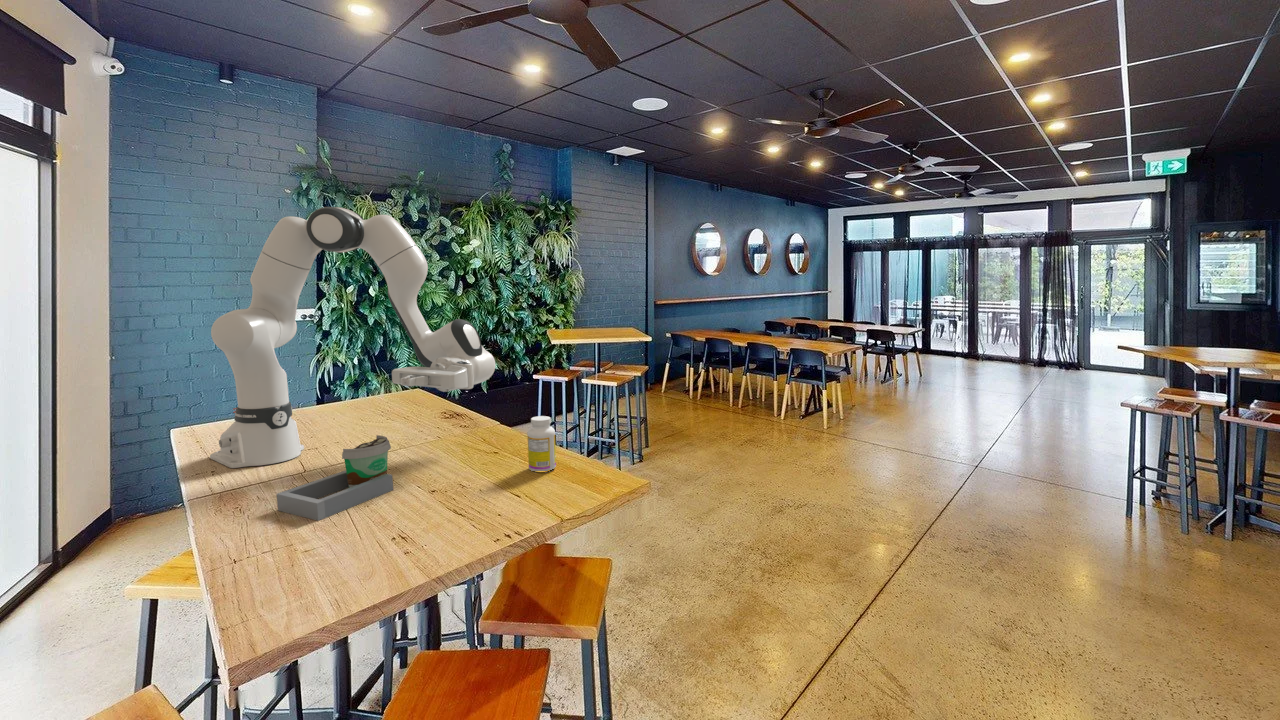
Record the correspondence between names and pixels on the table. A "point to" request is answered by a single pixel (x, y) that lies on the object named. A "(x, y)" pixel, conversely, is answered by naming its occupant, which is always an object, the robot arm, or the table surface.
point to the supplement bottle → (541, 444)
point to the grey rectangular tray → (307, 495)
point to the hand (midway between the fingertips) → (405, 382)
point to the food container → (366, 461)
